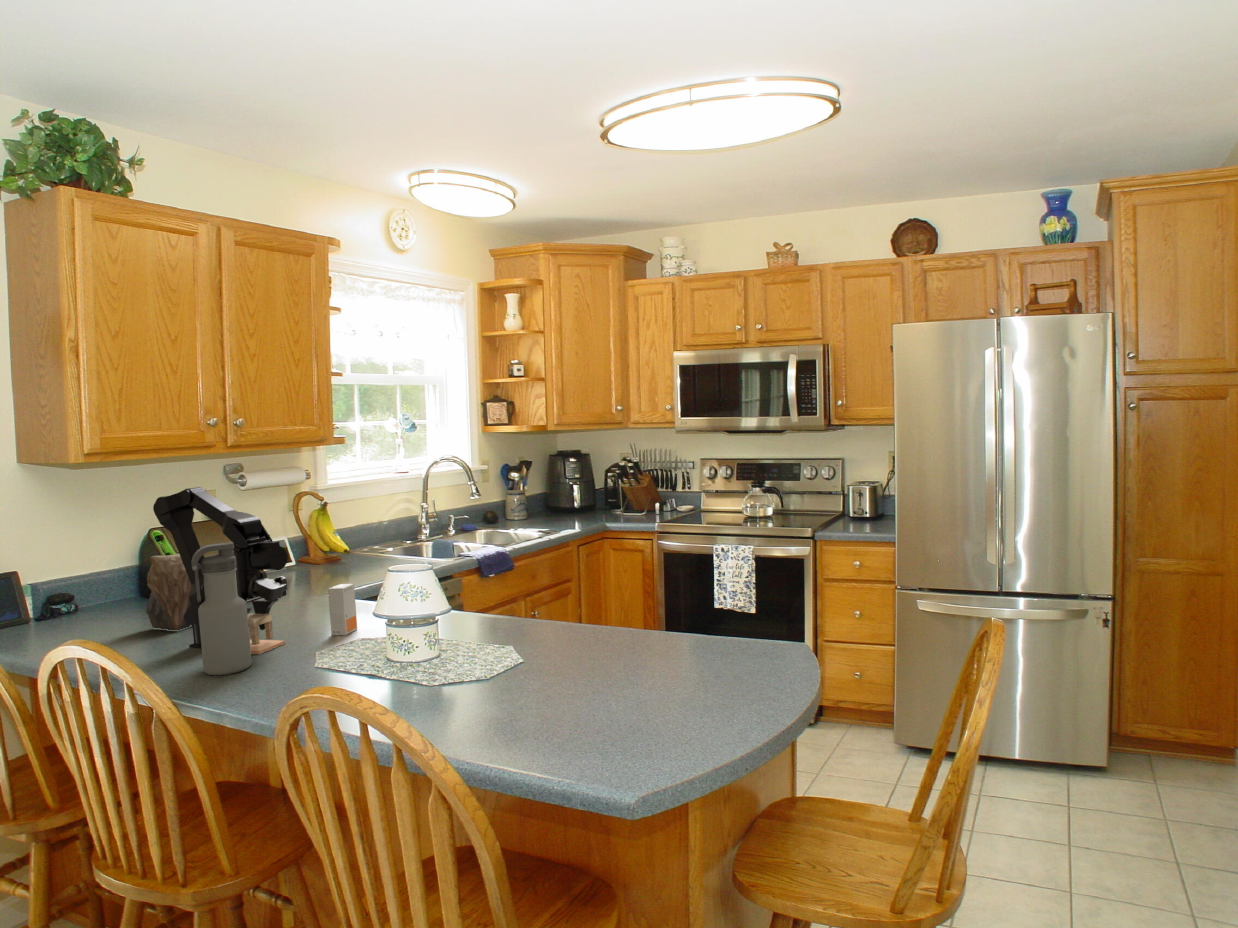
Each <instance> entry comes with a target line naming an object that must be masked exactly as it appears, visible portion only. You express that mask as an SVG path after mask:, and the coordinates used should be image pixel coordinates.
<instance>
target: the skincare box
mask: <svg viewBox="0 0 1238 928" xmlns="http://www.w3.org/2000/svg"><path fill="white" fill-rule="evenodd" d="M327 592H328V593H327V595H328V606H329V610H328V611H329V620H330V621H329V622H330V635H331V636H347V635H348V634H350V633H353V632H354V631H357V630H358V620H357V608H356V607H357V606H356V605H357V604H356V592H355V584H354V583H340V584H337V585H334V586H332V587H329V588H328V589H327Z"/></svg>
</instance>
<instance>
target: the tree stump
mask: <svg viewBox="0 0 1238 928" xmlns="http://www.w3.org/2000/svg"><path fill="white" fill-rule="evenodd" d="M149 560H150V562H151V564H150V565H151V566H150V567H149V570H148V572H147V575H146V576H147V577H146V583H147V585H146V586H147V587H148V589H149V590H150V592H151V593H150V594H149V598H148V600H147V601H148V602H147V606H146V609H145V613H146V615H147V618H148V620H149V622H150V624H151V627H152V628H153V627H154V628H161V629H168V630H180V629H183V628H186V627H189V626H190V625H192V624H186V623H185V620H184V617H183V615H184V614H185V612H186V611H187V609H188V608H189V606H190V605H191V604H190V600H189V593H190V589H191V582H190V580H189V577H188V575H187V572H186V570H185V567H184V564H183V562H182V559H181V557H180V554H179V553H176V554H169V555H151V556H150V558H149Z"/></svg>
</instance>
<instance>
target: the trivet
mask: <svg viewBox="0 0 1238 928" xmlns="http://www.w3.org/2000/svg"><path fill="white" fill-rule="evenodd" d="M259 641H260V644H257V645H252V639H250V649H251V655H261V654H263V653H266V652H268V651H271V650H273V648H274V649H276V648H278V647H280V646H283V645H286V640H278V639H277V640H275V639H274V640H273V639H259Z"/></svg>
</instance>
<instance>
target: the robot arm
mask: <svg viewBox="0 0 1238 928" xmlns="http://www.w3.org/2000/svg"><path fill="white" fill-rule="evenodd" d="M152 507H153V508H152V509H153V512H154V515H155V517H156V519H157V521H158V522H159V524H160V525H161V526H162V527H163V528H165V529H166V530H168V531H169V532H170V534H171V535H172V536H171V537H172V538H173V541H174V544H175V547H176V549H177V551H178V554H180V557H181V559H182V562H183V564H184V567H185V570H186V572H187V575H188V577H189V580H190V582H191V589H190V593H189V600H190V604H191V605H190V606H189V608H188V609H187V611H186V612H185V614H184V615H183V617H184V620H185V623H186V624H192V627H191V628H192V636H193V637H192V638H193V643H191V644H189V645H188V646H189V647H188V648H202V647H201V636H200V625H199V614H198V609H199V607H200V605H201V604H202V603H203V602H204V601H205V589H204V578H203V574H202V572H203V571H201V569H199V570H198V576H199V585H200V596H201V602H198V601H197V592H196V581H195V571H194V570H193V569H192V557H193V555H194V554H195V552H196V551H197V550H198V549H200V548H201V547H202V546H201V545H200V542H199V539H198V537H197V535H196V532H195V530H194V527H193V521H194V517H195V510H197V511H198V512H199V513H201V514H202V515H203V516H205V517H207V519H210V520H211V521H213V522H214V523H215V524H217V525H218V526H220V528H221V531H222V534H223V535H224V536H225V537H226V538H227V539H228V540H229V541H231V542H232V543H234V548H233V554H234V556H235V557H236V568H237V570H236V582H237V593H238V596H239V597H240V598H242V599H244V600H245V602H246V604H249V603H251V604H252V606H253V610H254V614H270V611H271V609H272V607H273V606H274V604H276V603H277V602H279V599H282V597H285V596H287V590H288V581H287V577H285V576H283V575H281V576H277V577H275V579H274V578H271V579H270V578H268V575H267V572H266V571H280V570H283V568H285V567H286V565H287V564H288V560H289V559H288V557H289V555H288V553H287V551H286V549H285V548H284V547H283V546H281V544H280V541H278V540H274V541H273V539H272V538H271V535H270V534H269V533H268V531H267V530H266V528H265V526H264V525H263V524H262V520H261V519H260V518H259V517H258V516H255V515H253V514H250V513H248V512H243V511H237V510H235V509H233V508H232V507H230V506H229V505H227V504H226V503H224V502H223V501H222V500H219V499H218V498H216V497H215V496H214V495H212V494H210V493H209V492H208V491H207V490H206V489H205V488H204V487H200V486H196V487H190V488H189V487H188V488H185V489H183V490H181V491H179V492H175V493H174V494H170V495H164V496H159V497H157V499H156V500H155V501H154V504H153V506H152ZM204 558H206V557H205V554H204V555H202V556H201V557H200V559H199V560H198V564H200V563H201V560H202V559H204ZM263 570H265V571H263ZM251 610H252V608H250V607H247V615H249V614H250V611H251ZM258 628H259V629H260V630H259V631H265V623H264V624H261V625H258Z"/></svg>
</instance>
